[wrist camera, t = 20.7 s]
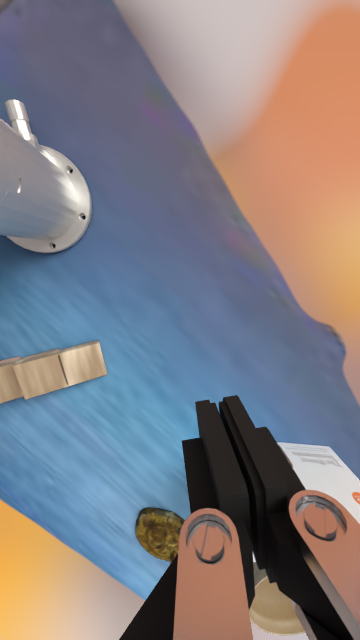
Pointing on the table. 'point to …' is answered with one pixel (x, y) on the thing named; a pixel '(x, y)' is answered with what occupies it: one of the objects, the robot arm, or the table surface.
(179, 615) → the robot arm
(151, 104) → the table surface
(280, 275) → the table surface
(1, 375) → the tile
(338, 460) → the skincare box
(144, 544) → the seal
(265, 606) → the planter bowl
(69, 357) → the head tile
